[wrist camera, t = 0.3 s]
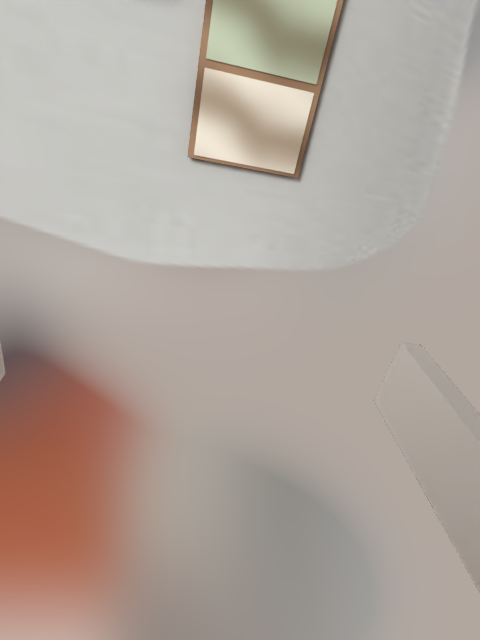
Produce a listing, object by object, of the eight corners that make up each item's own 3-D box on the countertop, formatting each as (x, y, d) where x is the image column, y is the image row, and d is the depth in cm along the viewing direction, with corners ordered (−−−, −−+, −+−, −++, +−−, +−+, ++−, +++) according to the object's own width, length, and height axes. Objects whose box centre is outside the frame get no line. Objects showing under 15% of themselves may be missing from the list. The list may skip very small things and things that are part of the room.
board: (230, -205, 24) (231, -218, 23) (378, -151, 26) (385, -161, 25) (187, 155, 34) (187, 157, 33) (295, 175, 36) (298, 178, 35)
